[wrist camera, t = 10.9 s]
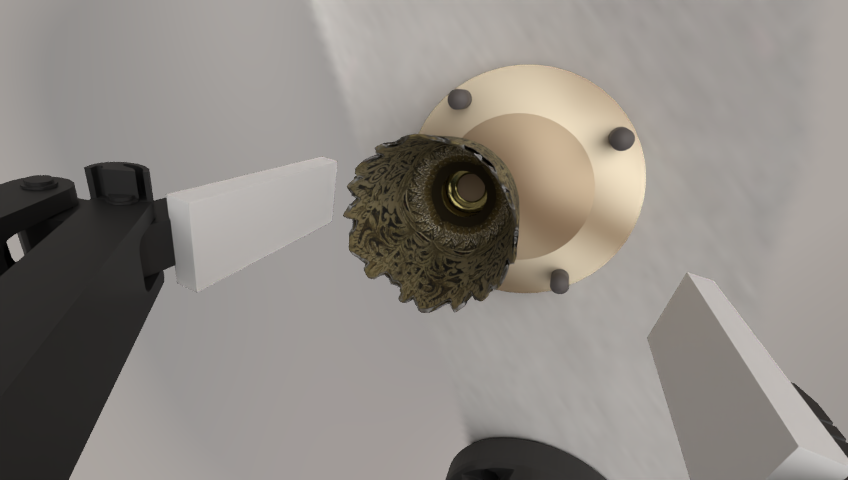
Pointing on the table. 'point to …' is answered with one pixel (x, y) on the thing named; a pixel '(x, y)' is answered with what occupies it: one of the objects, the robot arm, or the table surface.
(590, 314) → the table surface
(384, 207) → the ornate scalloped bell shade
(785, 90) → the table surface
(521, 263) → the seat plate
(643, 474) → the table surface
